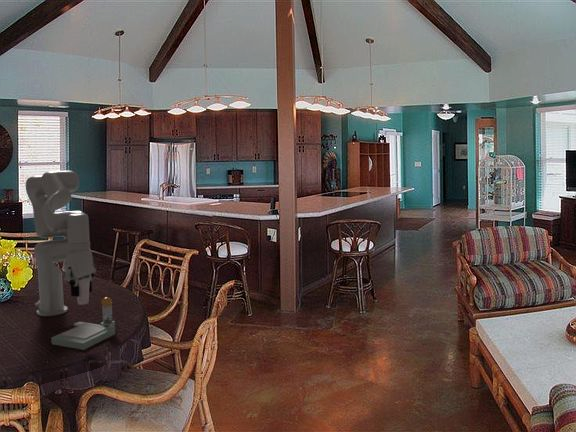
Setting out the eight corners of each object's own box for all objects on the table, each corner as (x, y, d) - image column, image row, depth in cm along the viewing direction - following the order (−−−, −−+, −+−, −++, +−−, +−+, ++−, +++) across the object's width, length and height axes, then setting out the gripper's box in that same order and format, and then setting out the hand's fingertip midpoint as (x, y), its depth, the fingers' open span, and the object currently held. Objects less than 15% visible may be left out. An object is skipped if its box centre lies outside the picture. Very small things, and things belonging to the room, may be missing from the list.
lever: (100, 328, 211) (98, 298, 209) (107, 324, 215) (105, 295, 213) (108, 329, 209) (107, 299, 208) (115, 326, 213) (114, 296, 211)
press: (38, 341, 200) (37, 333, 200) (79, 323, 219) (78, 316, 219) (83, 349, 192) (83, 342, 192) (121, 330, 212) (121, 323, 211)
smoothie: (74, 306, 197) (71, 269, 195) (73, 301, 203) (71, 265, 200) (92, 304, 199) (90, 267, 197) (91, 299, 205) (89, 264, 203)
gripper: (87, 241, 207) (90, 287, 210) (53, 250, 191) (56, 299, 194) (103, 243, 204) (105, 289, 207) (69, 251, 188) (72, 301, 191)
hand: (81, 293), depth 200 cm, fingers closed on smoothie, 5 cm apart
